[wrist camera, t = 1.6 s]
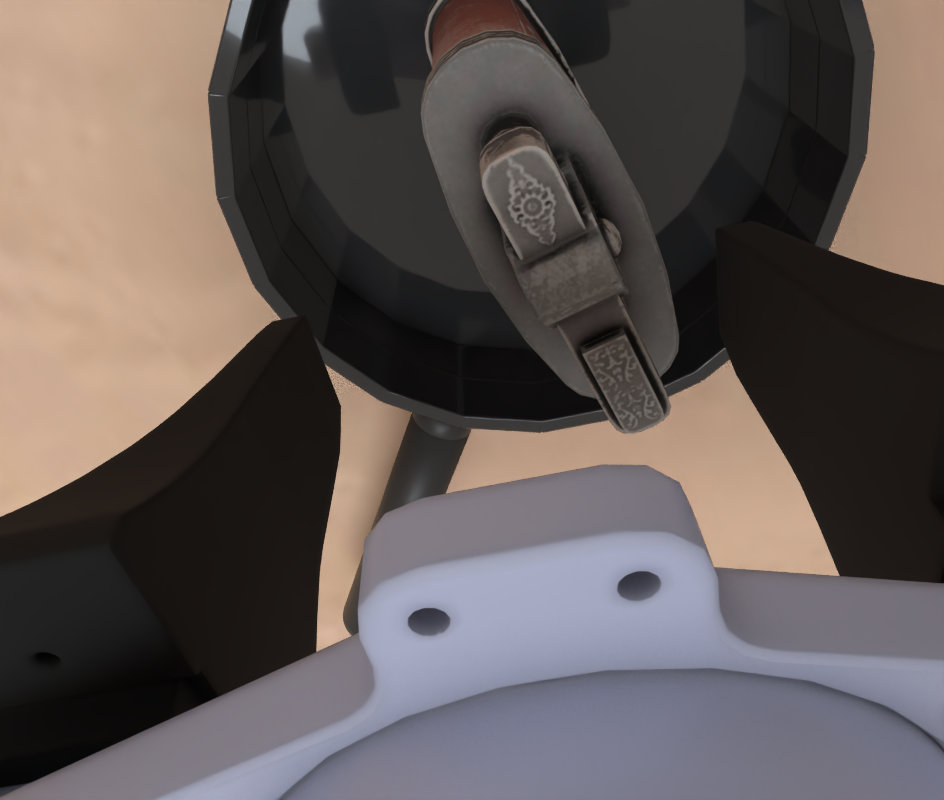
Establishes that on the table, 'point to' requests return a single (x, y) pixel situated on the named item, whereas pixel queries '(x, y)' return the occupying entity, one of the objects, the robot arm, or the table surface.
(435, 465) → the pan handle
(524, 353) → the pan
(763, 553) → the table surface
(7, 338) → the table surface
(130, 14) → the table surface
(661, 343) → the lighter
